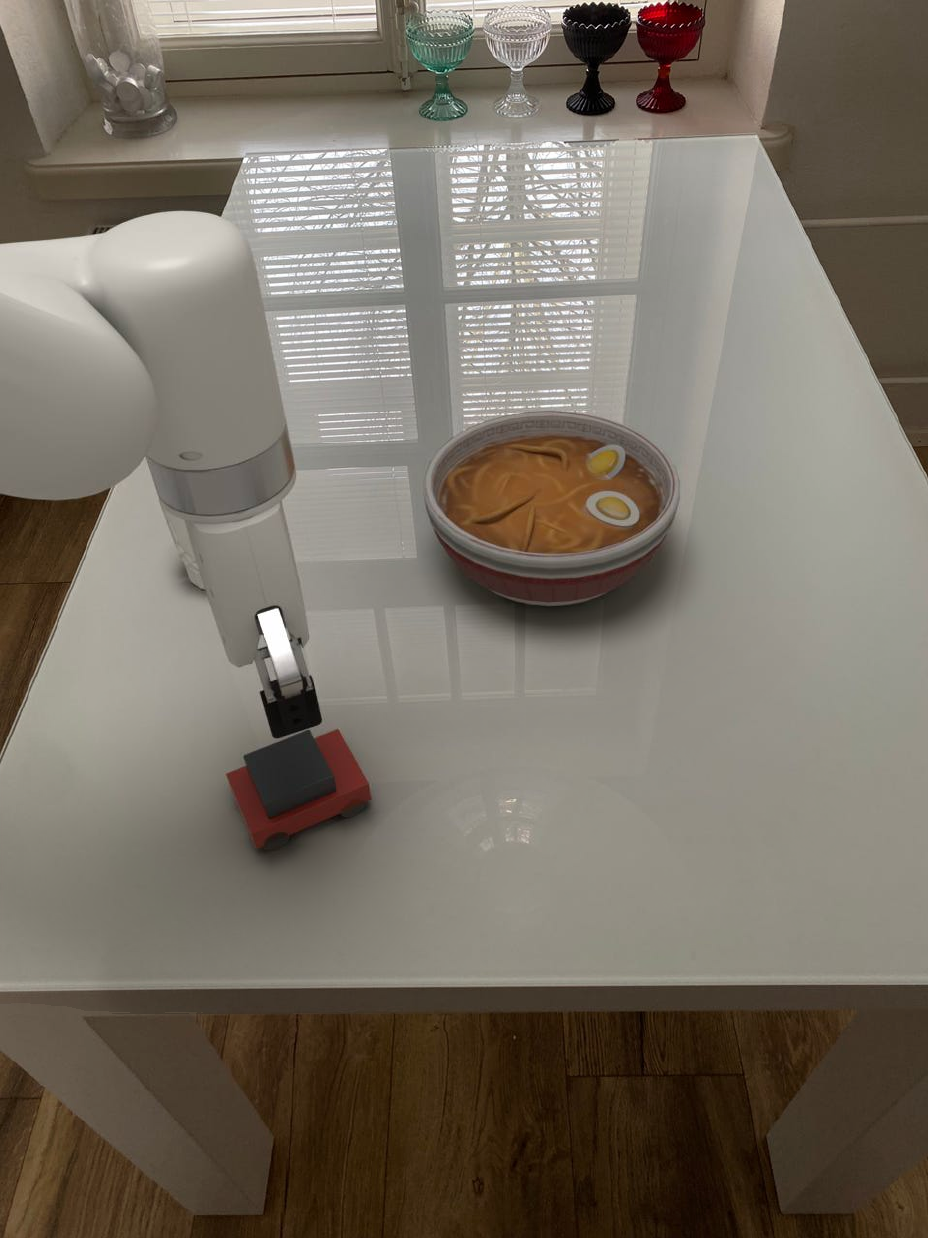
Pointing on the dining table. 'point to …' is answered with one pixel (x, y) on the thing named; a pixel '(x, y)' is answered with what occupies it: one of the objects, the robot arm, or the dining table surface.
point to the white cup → (183, 546)
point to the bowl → (551, 504)
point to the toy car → (297, 786)
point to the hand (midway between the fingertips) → (278, 676)
